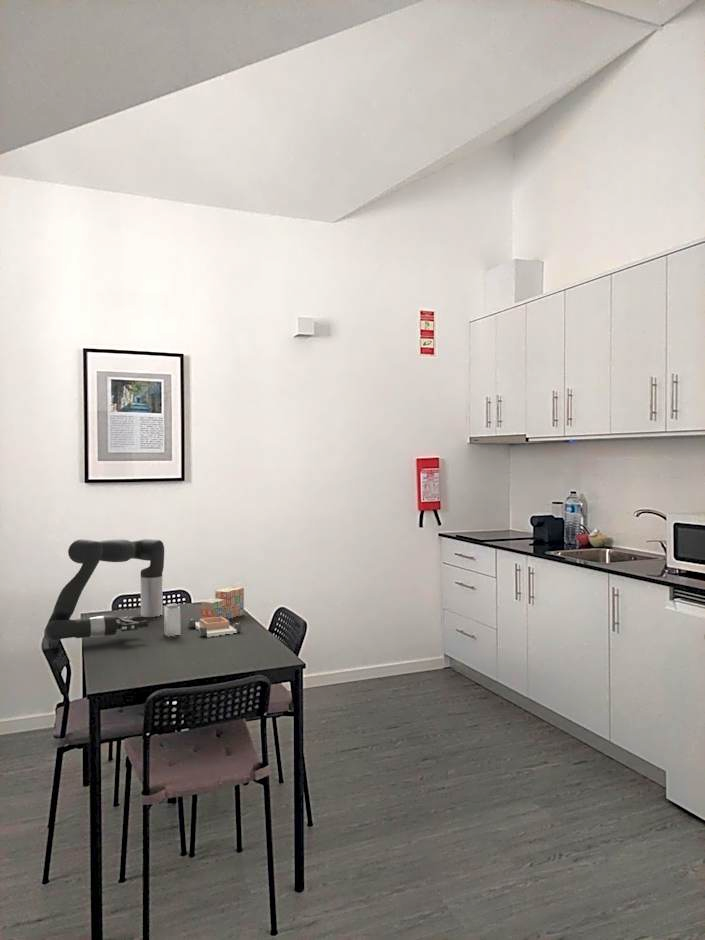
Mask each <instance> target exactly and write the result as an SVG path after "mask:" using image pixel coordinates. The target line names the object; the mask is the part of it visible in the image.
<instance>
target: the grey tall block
mask: <svg viewBox="0 0 705 940" xmlns="http://www.w3.org/2000/svg"><path fill="white" fill-rule="evenodd" d="M163 611H164V612H163V614H164V615H163V616H164V619H163V620H164V622H163V623H164V629H163V630H164V632H163V633H164V635H165V636H166V637H167V636H168V637H167V638H170V637H169V636H173V637H176V636H175V635H180V636H181V607H180V605H179V604H177V603H167V604H166V606H165V605H164V607H163Z"/></svg>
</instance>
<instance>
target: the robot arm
mask: <svg viewBox="0 0 705 940" xmlns="http://www.w3.org/2000/svg"><path fill="white" fill-rule="evenodd" d="M67 554H68V557H69V559H70V560H71V561H72V562H74V563H77V564H80V565H81V567H80V568H79V570H78V571H77V572H76V574H75V575H74V576H73V578H71V580H69V581H68V583H67V584H65V586H64V587H63V588H62V589H61V591H60V593H59V595H58V598H57V600H56V603H55V605H54V608H53V611H52V614H51V615H50V618H49V619H48V622H47V624H46V626H45V628H44V634H43V635H44V637H45V639H46V641H49V642H52V643H57V642H59V641H60V640H63V639H72V638H75V639H83V638H97V637H105V636H106V637H108V636H115V635H116V634H117V630H120V631H121V632H130V631H138V630H139V628H142V629H143V628H148V627H149V621H148V620H144V618H155V617H156V616H157V617H161V616H163V573H164V568H165V567H164V566H165V565H164V564H165V546H164V542H163V541H162V540H160V539H146V538H145V539H139V540H133V541H131V540H127V539H107V540H106V539H105V540H99V541H97V540H92V539H77V540H74V541H73V542H72V543H71V544H70V545H69V548H68V550H67ZM131 559H133V560H134V559H136V560H142V561H150V562H149V566H148V567H145V568H142V569H141V570H140V615H139V616H131V615H125V616H115V614H109V615H107V614H106V615H99V616H92V617H86V618H85V617H84V618H76V619H71V617H72V615H73V614H74V612H75V609H76V608H77V604H78V602H79V598H80V596H81V595H82V592H83V591H84V589H85V587H86V586H87V584H88V581H90V578H91V577H92V575H93V573H94V572H95V570H96V568H97V566H98V565H99V563H100V561H101V562H108V563H123V562H124V563H125V562H128V561H130V560H131ZM160 615H161V616H160Z"/></svg>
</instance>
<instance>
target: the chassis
mask: <svg viewBox="0 0 705 940" xmlns="http://www.w3.org/2000/svg"><path fill="white" fill-rule="evenodd" d="M187 624H188V625H187V626H188V628H189V627H190V628H189V629H193V628H194V627H195V628H194V629H196V630H197V629H198V630H199V631H198V630H197V631H198V632H199V633H198V634H199V637H206V636H207V637H206V638H213V637H212V636H214V637H220V636H219V635H222V636H226V635H225V634H230V635H234V634H233V633H237V634H238V633H240V632H241V631H242V624H241V623H240V622H235V623H233V625H232V626H231V625H230V619H228V616H227V615H224V616H221V617H212V618H203V619H201V618H199V619H198V622H197V621H196V619H195V618H191V619H188V623H187Z"/></svg>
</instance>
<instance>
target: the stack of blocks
mask: <svg viewBox="0 0 705 940" xmlns="http://www.w3.org/2000/svg"><path fill="white" fill-rule="evenodd" d="M244 590H245V589H244V587H238V586H230V587H225V588H221V589H217V590H215V593H214V596H215V597H213V598H209V599H206V600H202V601H201V609H200V610H201V613H200V614H201V616H200V617H201V618H200V619H203V618H212V617H221V616H224V615H227V616H228V619H229V620H231V619H230V618H232V619H234V618H233V617H235V618H237V617H236V616H238V617H241V616H244V615H245V613H244V612H245V609H244V607H245V606H244V605H245V595H244V593H245V592H244Z"/></svg>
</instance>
